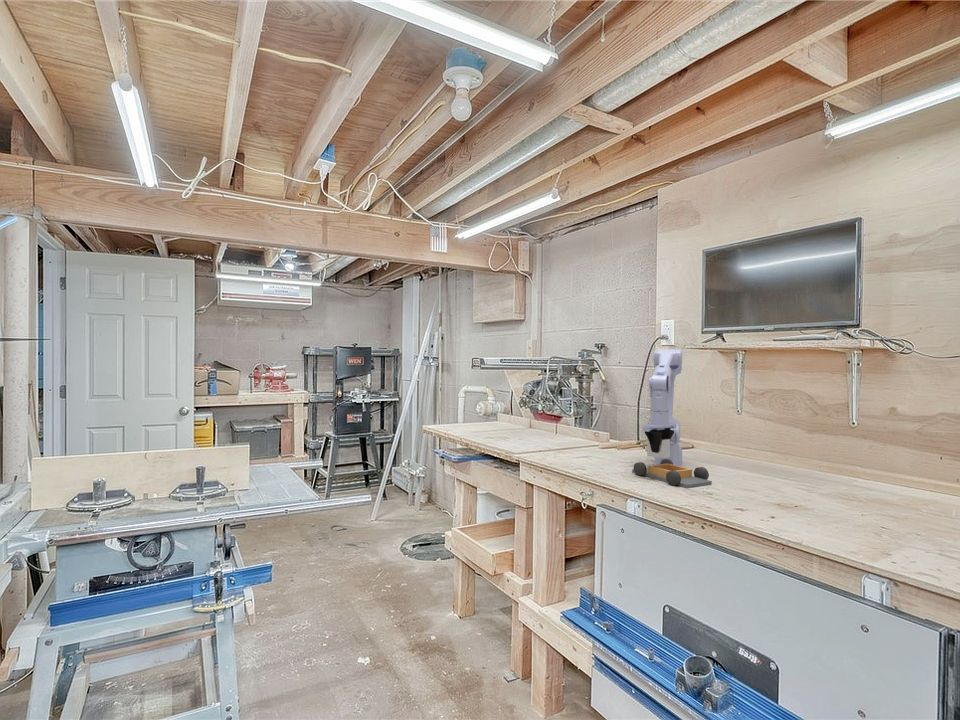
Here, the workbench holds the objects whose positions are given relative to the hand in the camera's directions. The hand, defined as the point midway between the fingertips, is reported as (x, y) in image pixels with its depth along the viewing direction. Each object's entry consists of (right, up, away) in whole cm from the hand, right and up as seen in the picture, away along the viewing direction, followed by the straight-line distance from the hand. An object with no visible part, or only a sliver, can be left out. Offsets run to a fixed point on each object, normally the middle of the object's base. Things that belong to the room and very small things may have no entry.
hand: (659, 451), depth 162 cm
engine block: (0, -2, 0) cm, 2 cm away
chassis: (+3, -8, -2) cm, 9 cm away
